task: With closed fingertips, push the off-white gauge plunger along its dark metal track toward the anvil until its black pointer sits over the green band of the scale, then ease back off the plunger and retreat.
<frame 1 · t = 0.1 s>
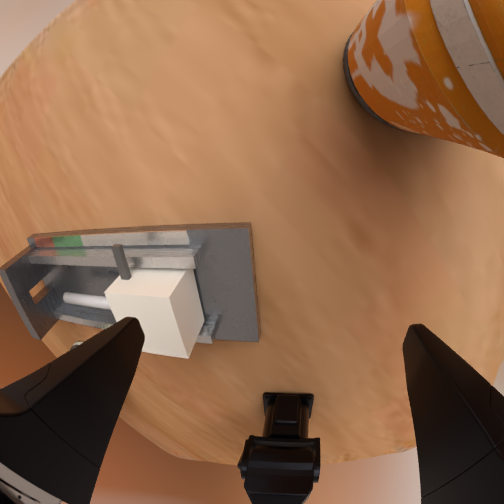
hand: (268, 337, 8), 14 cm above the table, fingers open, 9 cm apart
canister: (410, 75, 15), on the table
gauge track: (124, 280, 27), on the table
plunger: (112, 291, 23), point 4 cm above the table, slide at 0.0 cm
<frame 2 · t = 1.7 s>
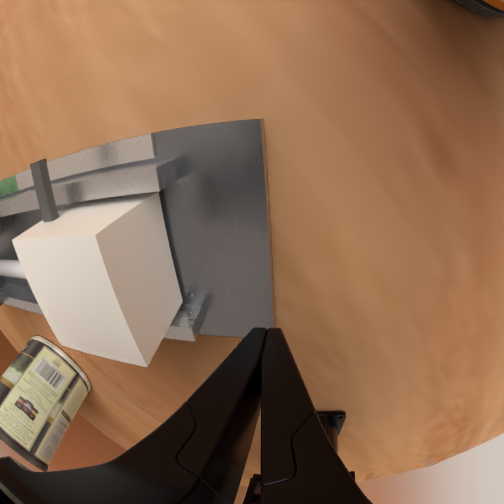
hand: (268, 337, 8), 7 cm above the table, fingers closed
coffee can: (60, 364, 27), on the table
gauge track: (71, 242, 17), on the table
plunger: (39, 248, 12), point 4 cm above the table, slide at 0.0 cm
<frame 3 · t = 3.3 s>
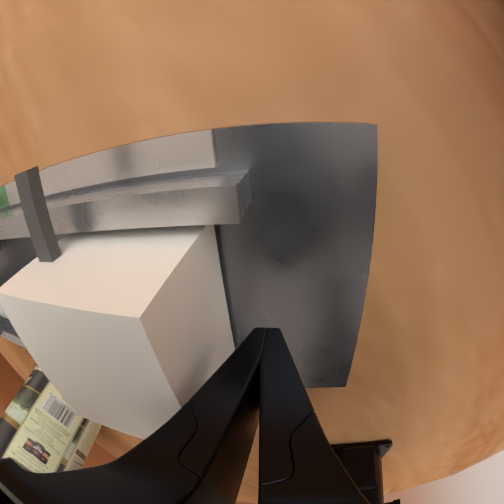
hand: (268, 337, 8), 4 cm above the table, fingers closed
coffee can: (70, 395, 23), on the table
gauge track: (81, 272, 13), on the table
plunger: (36, 291, 9), point 4 cm above the table, slide at 0.3 cm, touching gripper
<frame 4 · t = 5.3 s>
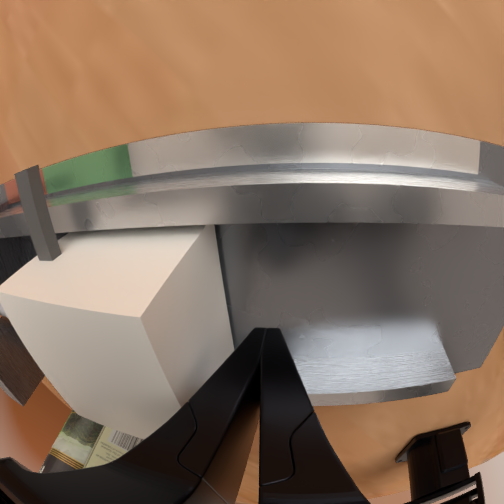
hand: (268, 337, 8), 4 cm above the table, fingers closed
coffee can: (129, 416, 22), on the table
gauge track: (238, 276, 12), on the table
plunger: (36, 289, 9), point 4 cm above the table, slide at 9.2 cm, touching gripper
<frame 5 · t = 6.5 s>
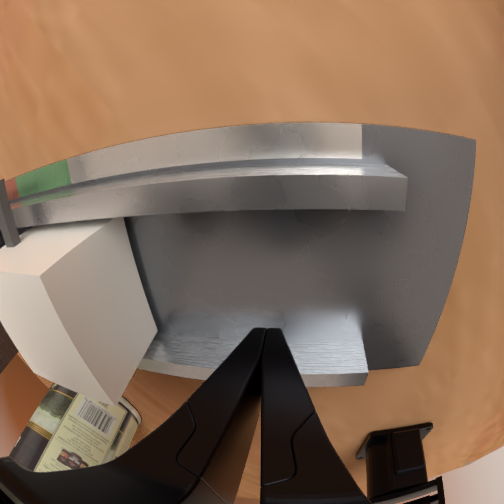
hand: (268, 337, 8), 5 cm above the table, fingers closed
coffee can: (100, 397, 23), on the table
gauge track: (157, 262, 13), on the table
plunger: (8, 271, 10), point 4 cm above the table, slide at 9.2 cm
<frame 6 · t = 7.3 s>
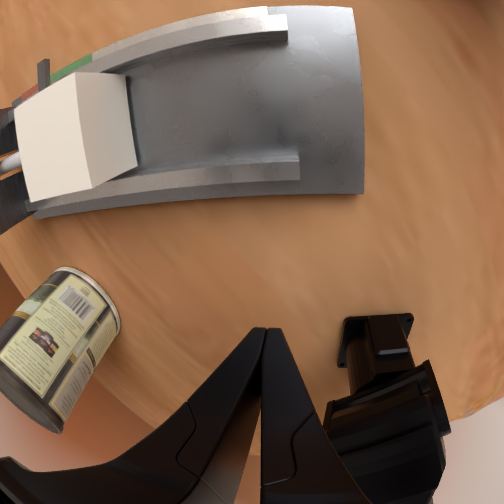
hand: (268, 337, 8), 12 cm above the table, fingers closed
coffee can: (84, 304, 27), on the table
gauge track: (144, 117, 16), on the table
plunger: (31, 132, 13), point 4 cm above the table, slide at 9.2 cm
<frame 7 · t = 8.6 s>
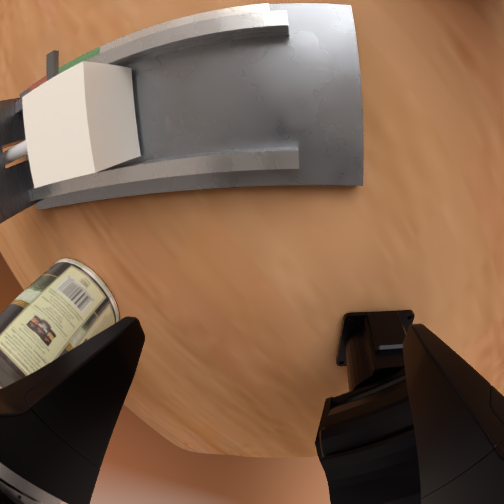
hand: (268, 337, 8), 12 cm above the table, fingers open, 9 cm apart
coffee can: (84, 297, 27), on the table
gauge track: (148, 109, 17), on the table
plunger: (37, 122, 14), point 4 cm above the table, slide at 9.2 cm
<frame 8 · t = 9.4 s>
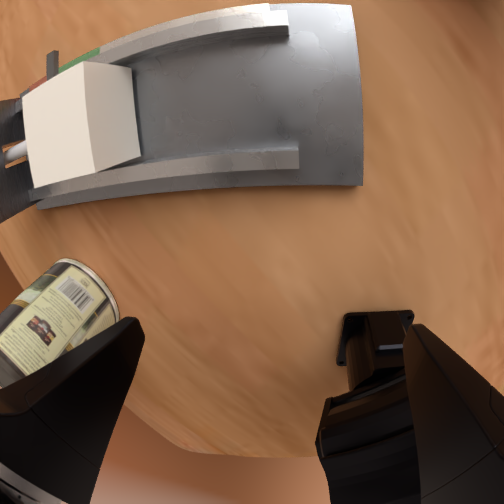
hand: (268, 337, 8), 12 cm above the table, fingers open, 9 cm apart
coffee can: (84, 297, 27), on the table
gauge track: (148, 109, 17), on the table
plunger: (37, 122, 14), point 4 cm above the table, slide at 9.2 cm
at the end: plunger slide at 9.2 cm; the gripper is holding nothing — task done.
